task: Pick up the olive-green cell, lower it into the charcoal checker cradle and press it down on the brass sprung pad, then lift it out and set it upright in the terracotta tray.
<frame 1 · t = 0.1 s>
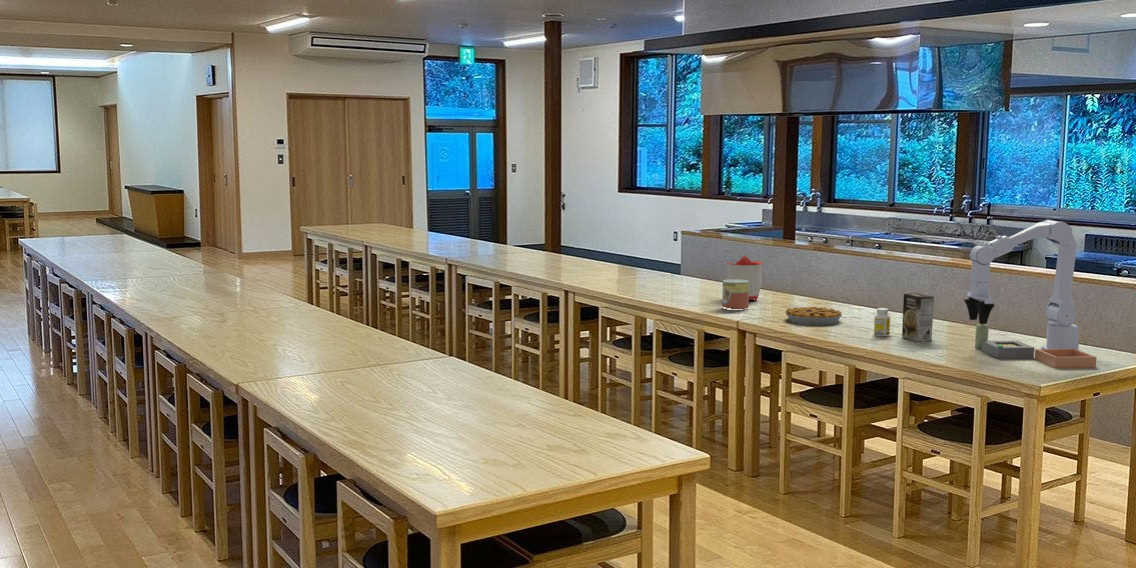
hand: (978, 321, 340), 10 cm above the table, fingers open, 7 cm apart
canned food: (735, 309, 431), on the table
citrus juicer: (742, 300, 456), on the table
pie: (813, 322, 400), on the table
olive cell: (981, 348, 346), on the table
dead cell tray: (1064, 363, 321), on the table
coffee box: (916, 339, 362), on the table
supplement bottle: (881, 335, 370), on the table
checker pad: (1007, 347, 335), point 3 cm above the table, slide at -0.2 cm
checker cradle: (1007, 354, 335), on the table
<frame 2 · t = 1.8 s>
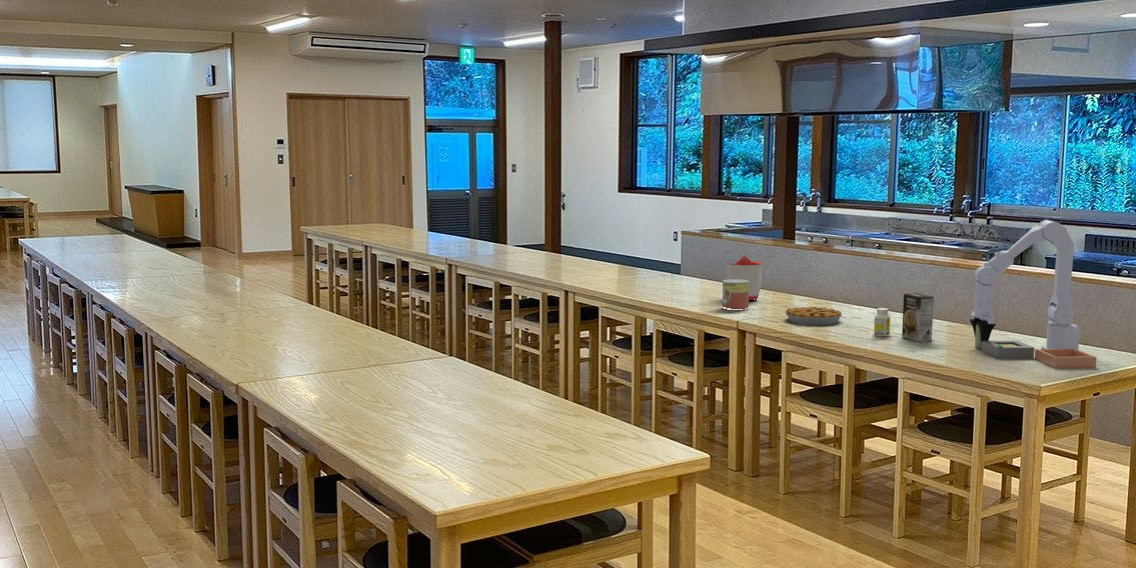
hand: (981, 341, 345), 2 cm above the table, fingers closed on olive cell, 4 cm apart
olive cell: (981, 348, 346), on the table, touching gripper
everything else where it was.
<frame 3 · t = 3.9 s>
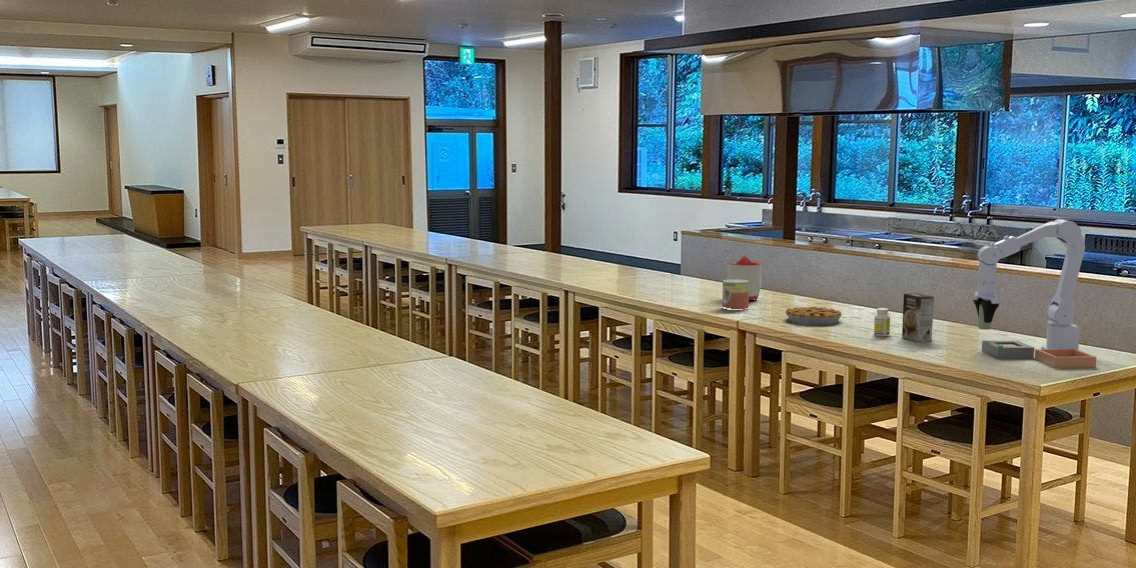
hand: (985, 321, 343), 9 cm above the table, fingers closed on olive cell, 4 cm apart
olive cell: (984, 328, 344), point 7 cm above the table, touching gripper
everything else where it was.
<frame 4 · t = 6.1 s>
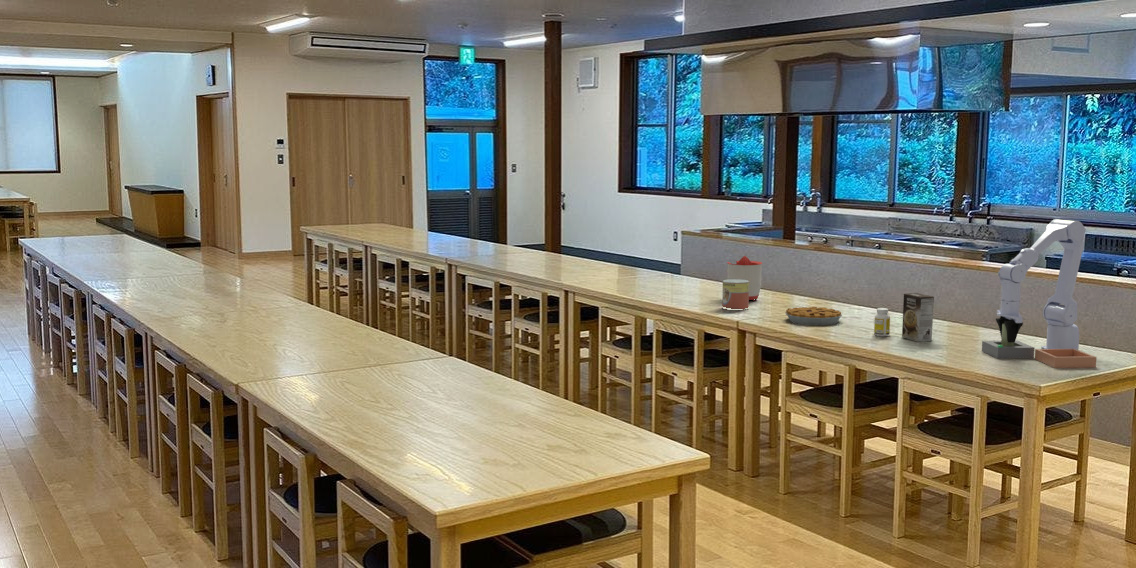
hand: (1008, 340, 334), 5 cm above the table, fingers closed on olive cell, 4 cm apart
olive cell: (1007, 348, 335), point 2 cm above the table, touching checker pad, gripper
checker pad: (1007, 348, 335), point 2 cm above the table, slide at -0.8 cm, touching olive cell
everything else where it was.
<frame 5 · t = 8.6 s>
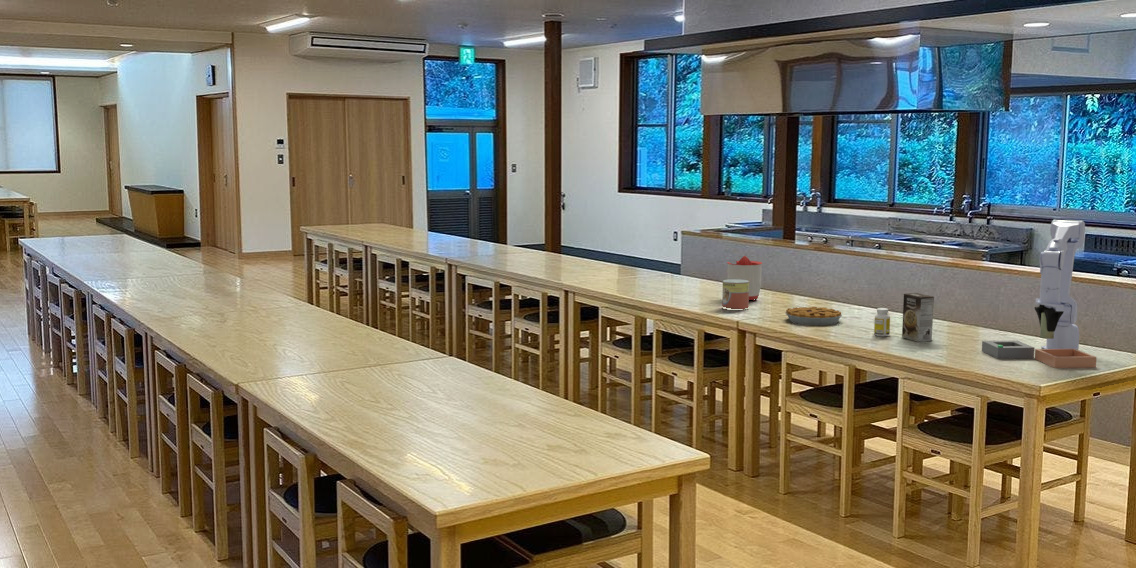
hand: (1047, 330, 324), 10 cm above the table, fingers closed on olive cell, 4 cm apart
olive cell: (1046, 337, 325), point 7 cm above the table, touching gripper
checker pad: (1007, 348, 335), point 2 cm above the table, slide at -0.8 cm
everything else where it was.
when the fingers open (5 cm above the table, at t = 10.5 s): olive cell drops 2 cm, resting on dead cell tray.
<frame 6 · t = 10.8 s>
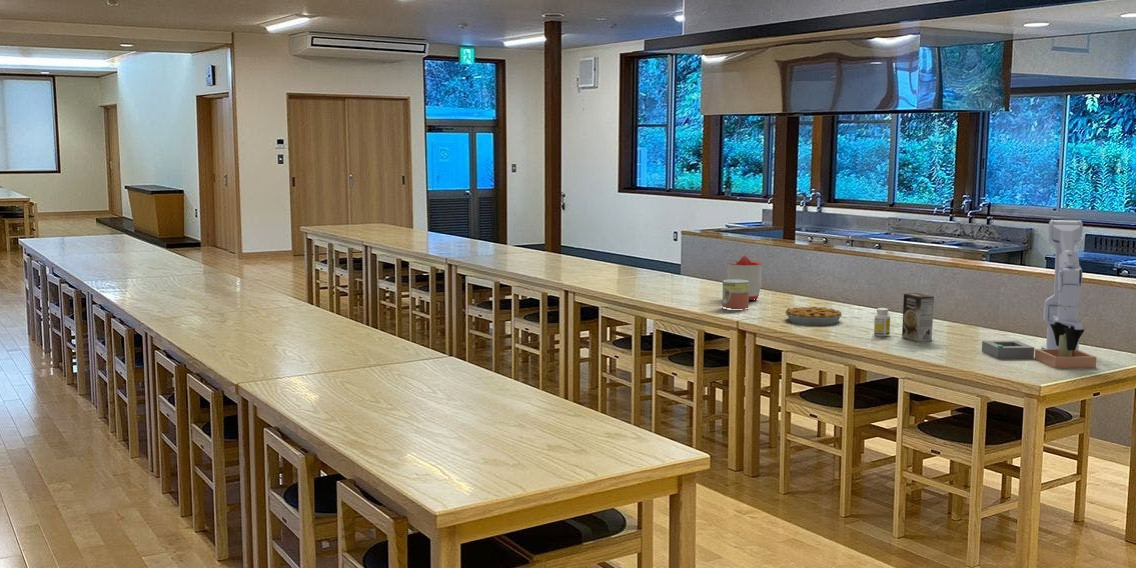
hand: (1065, 348, 321), 5 cm above the table, fingers open, 6 cm apart
olive cell: (1064, 360, 321), point 1 cm above the table, touching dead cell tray
everything else where it was.
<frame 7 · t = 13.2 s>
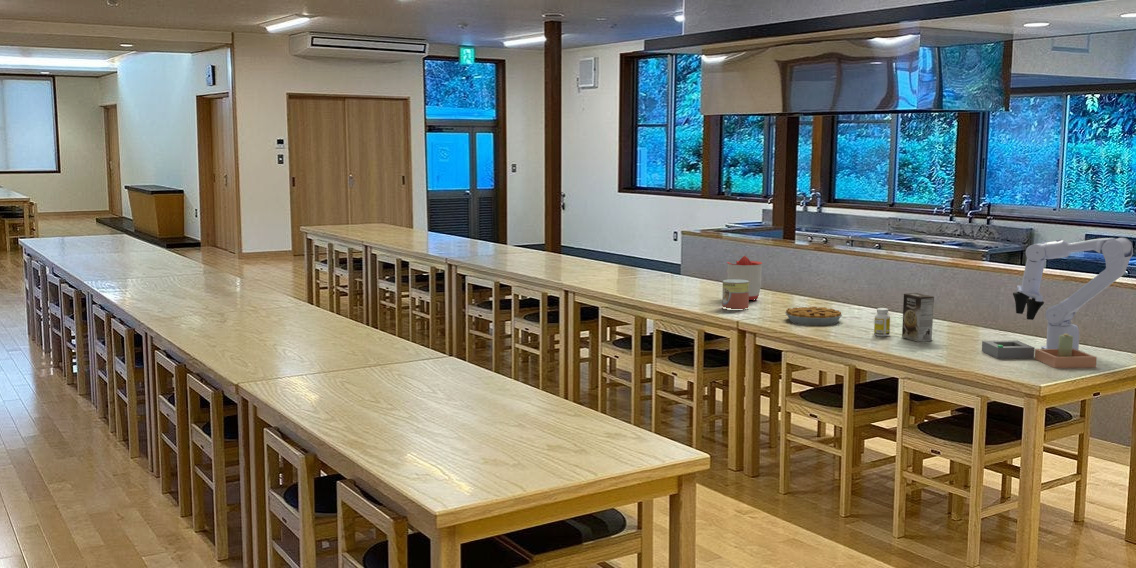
hand: (1024, 316, 348), 10 cm above the table, fingers open, 7 cm apart
nothing on the table moved.
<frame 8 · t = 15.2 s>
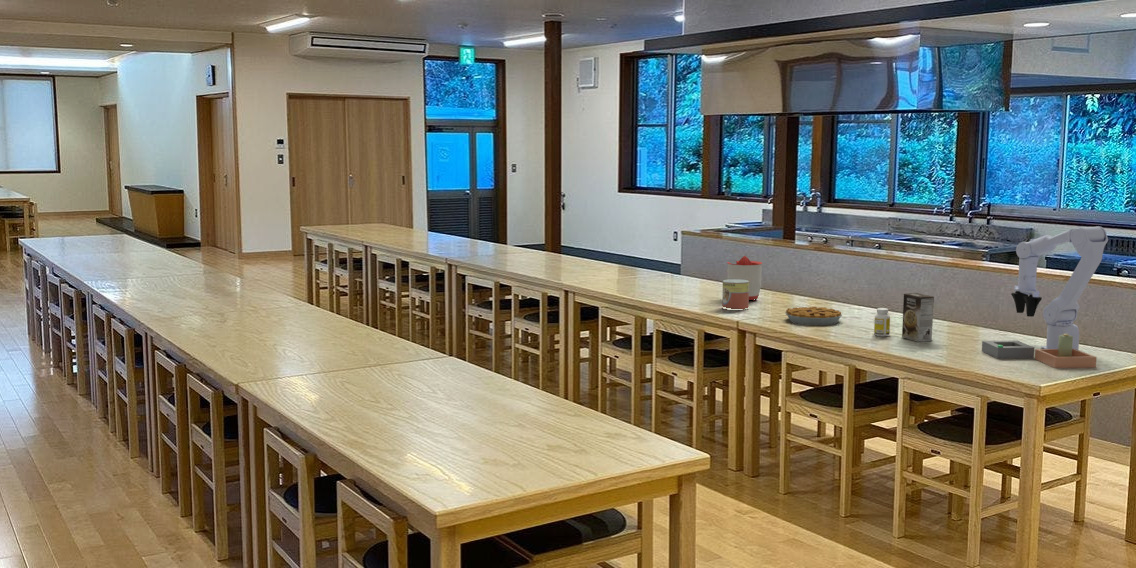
hand: (1025, 314, 354), 10 cm above the table, fingers open, 7 cm apart
nothing on the table moved.
at the end: olive cell inside the target area on the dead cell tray (0.1 cm from its centre), point 0.8 cm above the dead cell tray's base; olive cell tilted 0°; the gripper is holding nothing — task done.
